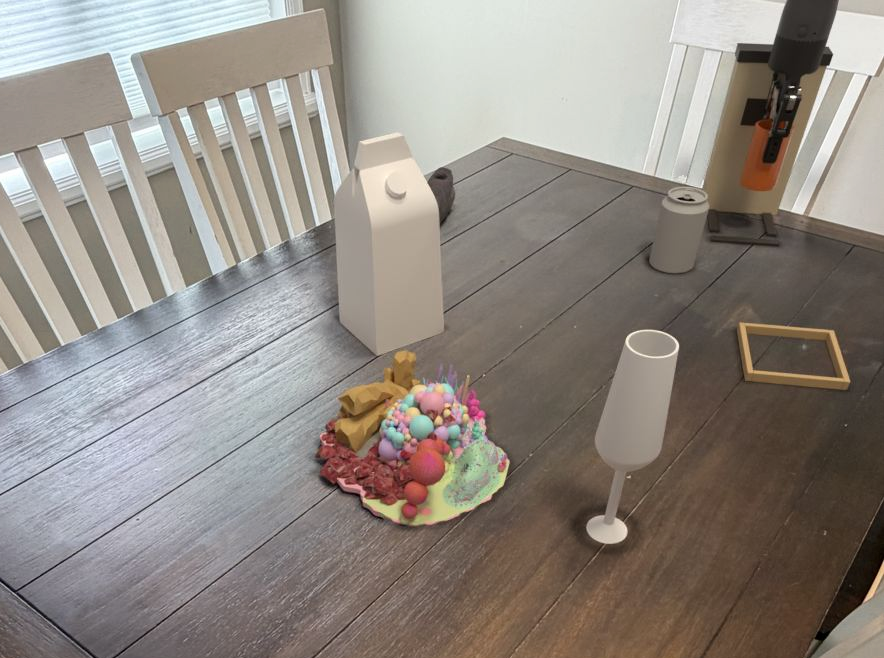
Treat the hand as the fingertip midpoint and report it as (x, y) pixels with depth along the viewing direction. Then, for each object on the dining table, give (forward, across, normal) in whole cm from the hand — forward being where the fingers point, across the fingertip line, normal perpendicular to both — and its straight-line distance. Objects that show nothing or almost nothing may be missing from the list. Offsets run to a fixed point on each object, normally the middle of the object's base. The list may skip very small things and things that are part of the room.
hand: (766, 154), depth 123 cm
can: (+13, -15, +13) cm, 24 cm away
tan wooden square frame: (+13, -42, -3) cm, 44 cm away
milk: (+13, -42, +56) cm, 71 cm away
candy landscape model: (+13, -72, +46) cm, 86 cm away
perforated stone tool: (+13, -3, +56) cm, 58 cm away
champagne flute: (+13, -82, +22) cm, 86 cm away
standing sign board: (+13, +3, 0) cm, 14 cm away
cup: (+5, 0, 0) cm, 5 cm away
